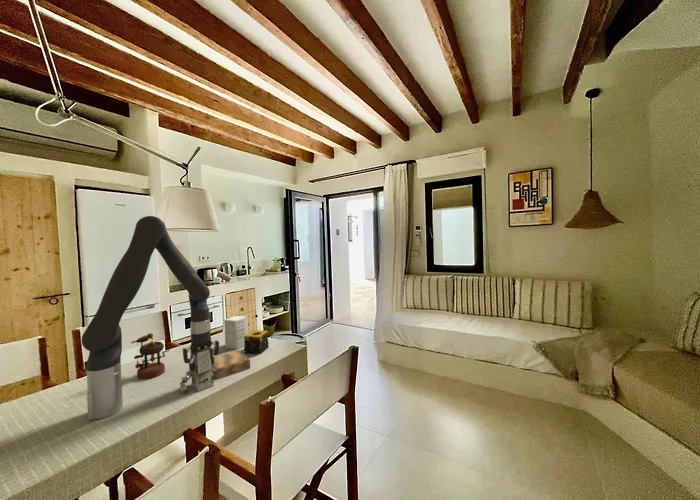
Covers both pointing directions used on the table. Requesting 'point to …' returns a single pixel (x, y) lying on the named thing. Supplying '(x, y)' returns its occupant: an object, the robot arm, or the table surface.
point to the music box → (151, 348)
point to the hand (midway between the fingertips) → (202, 368)
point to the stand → (230, 364)
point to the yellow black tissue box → (256, 342)
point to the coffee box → (202, 368)
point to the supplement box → (235, 331)
